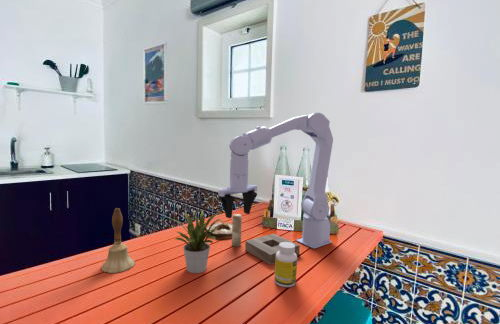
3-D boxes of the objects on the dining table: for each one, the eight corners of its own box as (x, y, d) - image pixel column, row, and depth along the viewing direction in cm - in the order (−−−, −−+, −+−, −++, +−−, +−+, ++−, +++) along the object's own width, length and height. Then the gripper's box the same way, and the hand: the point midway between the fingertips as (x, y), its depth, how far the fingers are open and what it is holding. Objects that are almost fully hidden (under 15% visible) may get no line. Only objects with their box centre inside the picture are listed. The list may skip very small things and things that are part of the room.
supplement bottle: (295, 289, 67) (297, 250, 66) (273, 286, 68) (274, 247, 67) (296, 278, 72) (298, 241, 71) (275, 275, 73) (277, 239, 72)
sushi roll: (193, 233, 103) (193, 222, 102) (223, 224, 114) (223, 214, 113) (220, 245, 93) (221, 233, 92) (250, 234, 104) (250, 223, 104)
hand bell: (95, 266, 75) (93, 209, 74) (125, 256, 82) (124, 203, 80) (110, 276, 70) (109, 215, 69) (140, 265, 77) (140, 208, 75)
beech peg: (237, 242, 95) (238, 213, 94) (242, 245, 92) (243, 215, 91) (230, 244, 93) (230, 215, 92) (235, 247, 90) (235, 217, 89)
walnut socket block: (273, 241, 96) (273, 233, 96) (299, 254, 86) (299, 245, 86) (245, 250, 89) (245, 240, 88) (270, 264, 79) (270, 254, 79)
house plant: (235, 262, 80) (236, 206, 78) (213, 286, 67) (215, 221, 65) (192, 253, 85) (192, 201, 83) (163, 275, 72) (163, 213, 70)
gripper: (247, 170, 97) (246, 208, 98) (213, 174, 87) (212, 216, 88) (261, 173, 92) (260, 213, 93) (226, 177, 82) (225, 222, 83)
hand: (237, 215), depth 90 cm, fingers open, 7 cm apart
